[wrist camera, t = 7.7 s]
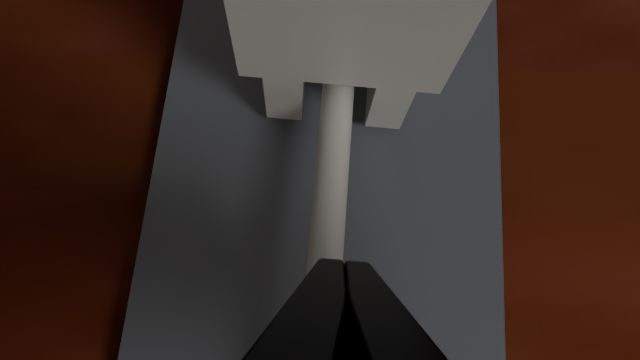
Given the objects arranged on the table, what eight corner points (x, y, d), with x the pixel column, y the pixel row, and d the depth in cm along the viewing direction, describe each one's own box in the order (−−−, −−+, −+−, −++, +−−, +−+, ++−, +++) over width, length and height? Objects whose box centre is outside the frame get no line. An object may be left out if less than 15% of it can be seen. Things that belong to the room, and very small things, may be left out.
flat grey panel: (501, 684, 15) (593, 831, 11) (74, 653, 15) (-27, 789, 10) (485, -62, 23) (534, -168, 19) (207, -89, 23) (184, -203, 18)
